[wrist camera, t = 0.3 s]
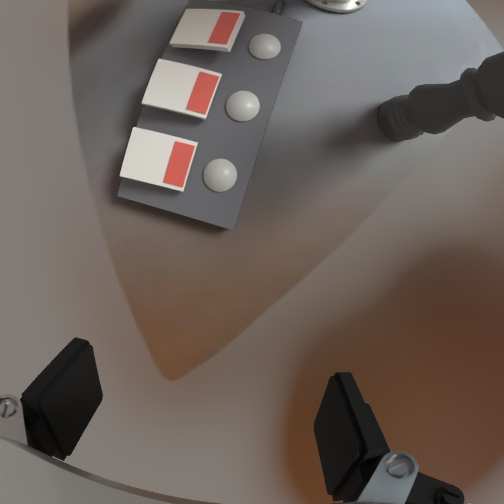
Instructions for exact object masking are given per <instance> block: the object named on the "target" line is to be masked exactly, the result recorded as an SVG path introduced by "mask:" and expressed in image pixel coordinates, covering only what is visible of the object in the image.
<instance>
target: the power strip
mask: <svg viewBox="0 0 504 504" xmlns="http://www.w3.org/2000/svg"><path fill="white" fill-rule="evenodd" d="M284 4H285V1H284V0H277V2H276V4H275V7H274V9H273V11H272V13H270V12H266V11H262V10H258V9H253V8H248V7H243V6H238V5H233V4H227V3H220V2H213V1H206V0H189V2H188V4H187V6H186V8H185V10H184V12H185V11H186V9H220V10H235V11H243V12H244V14H245V18H244V20H243V23H242V25H241V27H240V30H239V32H238V34H237V36H236V39H235V41H234V44H233V46H232V48H231V51H230V52H225V51H216V50H207V49H195V48H179V47H173V46H172V45H170V44H169V43H170V41H171V39H172V37H173V35H174V33H175V30H176V28H177V26H178V24H179V22H180V20H181V18H182V16H183V14H184V12H183V13H182V15H181V17H180V19H179V21H178V23H177V25H176V27H175V29H174V32H173V34H172V36H171V38H170V40H169V42H168V44H167V47H166V49H165V51H164V53H163V56H162V58H161V59H164V60H168V61H173V62H178V63H182V64H186V65H190V66H195V67H198V68H202V69H206V70H210V71H213V72H217V73H220V74H222V76H221V78H220V81H219V84H218V86H217V89H216V92H215V95H214V97H213V100H212V103H211V106H210V109H209V111H208V114H207V117H206V120H203V119H200V118H196V117H192V116H189V115H185V114H181V113H177V112H173V111H168V110H164V109H160V108H155V107H151V106H146V105H143V107H142V110H141V113H140V116H139V119H138V122H137V125H136V127H137V128H141V129H146V130H150V131H154V132H159V133H163V134H167V135H171V136H175V137H179V138H183V139H187V140H190V141H194V142H198V144H197V148H196V151H195V154H194V157H193V160H192V164H191V167H190V170H189V174H188V177H187V181H186V184H185V188H184V191H179V190H175V189H171V188H167V187H163V186H159V185H155V184H151V183H147V182H143V181H139V180H134V179H130V178H126V177H122V178H121V182H120V186H119V191H118V195H117V196H119V197H122V198H126V199H129V200H133V201H136V202H139V203H143V204H146V205H150V206H153V207H157V208H160V209H163V210H167V211H170V212H174V213H177V214H180V215H184V216H187V217H191V218H194V219H197V220H201V221H204V222H207V223H211V224H214V225H217V226H220V227H224V228H227V229H230V230H234V228H235V225H236V222H237V219H238V215H239V212H240V209H241V206H242V203H243V199H244V196H245V193H246V190H247V187H248V183H249V180H250V177H251V174H252V171H253V168H254V165H255V162H256V158H257V155H258V152H259V149H260V146H261V143H262V140H263V137H264V134H265V131H266V128H267V125H268V122H269V119H270V116H271V113H272V110H273V107H274V104H275V101H276V98H277V95H278V92H279V89H280V86H281V83H282V80H283V77H284V75H285V72H286V69H287V66H288V63H289V60H290V57H291V55H292V52H293V49H294V46H295V43H296V40H297V38H298V35H299V32H300V29H301V26H302V23H303V22H302V21H299V20H296V19H292V18H289V17H285V16H282V15H280V14H281V11H282V9H283V7H284Z"/></svg>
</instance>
